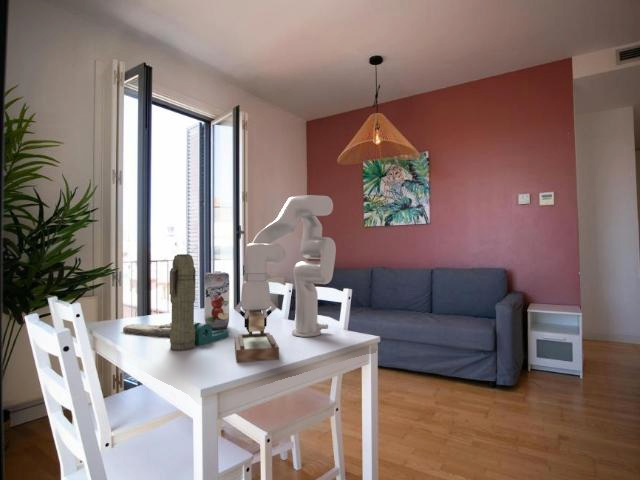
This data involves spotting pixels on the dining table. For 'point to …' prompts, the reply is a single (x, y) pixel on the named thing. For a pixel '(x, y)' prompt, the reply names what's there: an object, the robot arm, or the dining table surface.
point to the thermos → (182, 303)
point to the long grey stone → (149, 329)
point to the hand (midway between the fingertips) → (255, 328)
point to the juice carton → (217, 300)
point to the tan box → (256, 322)
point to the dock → (255, 347)
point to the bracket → (207, 334)
